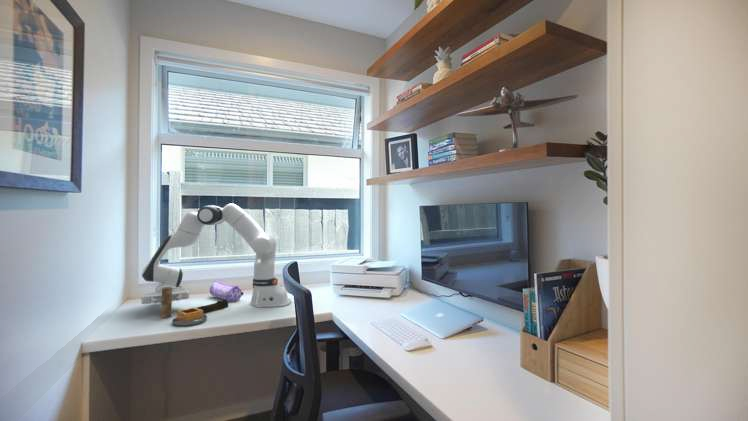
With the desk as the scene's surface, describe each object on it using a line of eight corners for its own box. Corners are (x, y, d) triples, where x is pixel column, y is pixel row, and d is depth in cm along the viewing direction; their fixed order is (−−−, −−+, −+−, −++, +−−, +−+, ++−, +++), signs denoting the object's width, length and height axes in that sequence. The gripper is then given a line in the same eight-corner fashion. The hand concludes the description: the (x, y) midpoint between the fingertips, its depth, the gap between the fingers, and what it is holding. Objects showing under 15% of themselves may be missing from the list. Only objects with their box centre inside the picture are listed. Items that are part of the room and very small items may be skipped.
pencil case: (243, 300, 191) (244, 284, 191) (229, 303, 183) (229, 287, 183) (221, 294, 202) (221, 279, 203) (207, 297, 195) (207, 282, 195)
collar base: (197, 315, 161) (197, 305, 161) (212, 320, 154) (212, 310, 154) (166, 322, 150) (166, 311, 150) (181, 328, 142) (181, 317, 142)
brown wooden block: (170, 314, 161) (171, 286, 161) (171, 317, 158) (172, 288, 158) (161, 316, 159) (161, 287, 159) (161, 318, 155) (162, 289, 156)
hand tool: (194, 316, 160) (194, 307, 160) (190, 315, 162) (190, 305, 162) (230, 308, 175) (231, 299, 175) (226, 306, 177) (227, 298, 178)
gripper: (140, 290, 164) (140, 296, 153) (187, 285, 176) (190, 291, 164) (140, 303, 164) (140, 309, 153) (187, 297, 176) (190, 303, 164)
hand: (166, 300), depth 159 cm, fingers open, 8 cm apart
